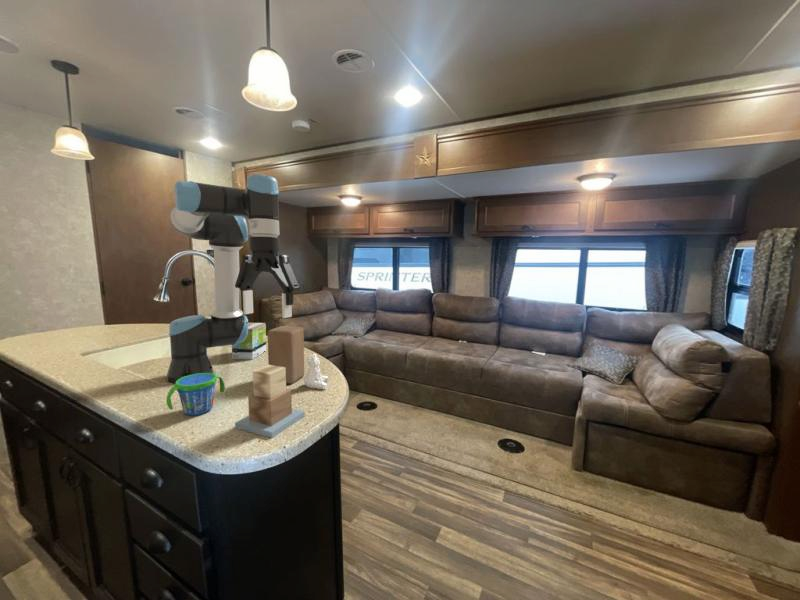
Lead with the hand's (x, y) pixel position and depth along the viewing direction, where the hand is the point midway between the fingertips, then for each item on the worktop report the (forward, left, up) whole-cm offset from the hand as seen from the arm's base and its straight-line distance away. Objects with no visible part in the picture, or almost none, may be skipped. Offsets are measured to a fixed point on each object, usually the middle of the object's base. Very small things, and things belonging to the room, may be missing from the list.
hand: (267, 315), depth 90 cm
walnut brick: (0, 0, -29) cm, 29 cm away
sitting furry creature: (-5, +28, -31) cm, 42 cm away
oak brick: (0, 0, -22) cm, 22 cm away
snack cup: (-25, -3, -31) cm, 40 cm away
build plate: (0, 0, -31) cm, 31 cm away
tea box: (-57, +47, -31) cm, 80 cm away
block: (-19, +29, -31) cm, 46 cm away
